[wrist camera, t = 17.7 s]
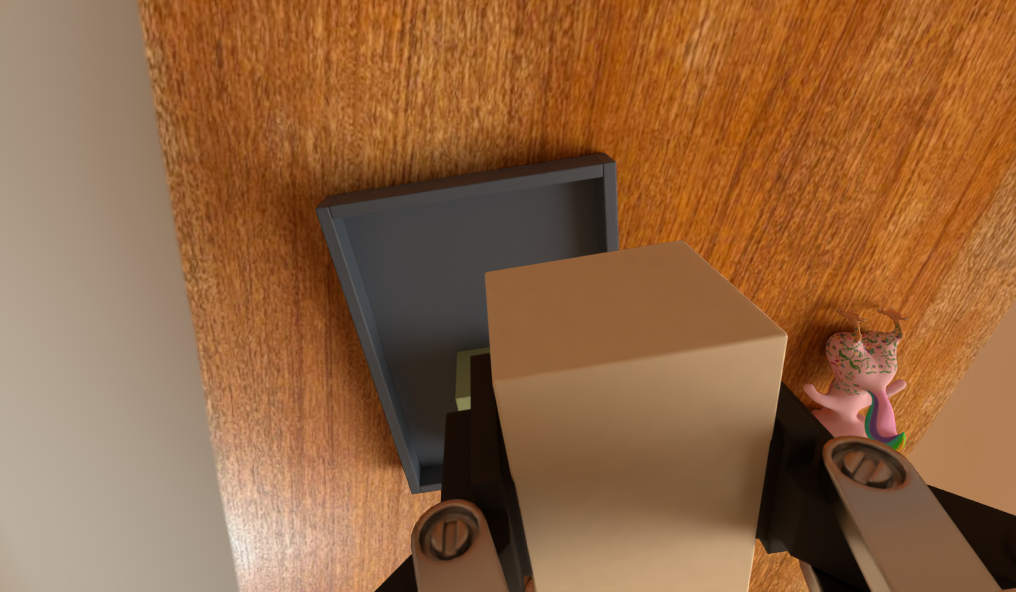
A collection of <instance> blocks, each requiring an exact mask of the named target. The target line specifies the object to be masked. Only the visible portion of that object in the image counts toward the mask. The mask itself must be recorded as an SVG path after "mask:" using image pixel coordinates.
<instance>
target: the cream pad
mask: <svg viewBox="0 0 1016 592" xmlns="http://www.w3.org/2000/svg"><path fill="white" fill-rule="evenodd" d="M485 286H486V299H487V313H488V327H489V341H490V355H491V369H492V382H493V388H494V393H495V398H496V403H497V408H498V413H499V418H500V423H501V428H502V433H503V438H504V442H505V447H506V452H507V457H508V462H509V467H510V472H511V477H512V479H513V481H514V482H515V487H516V492H517V497H518V502H519V507H520V512H521V517H522V522H523V527H524V533H525V538H526V543H527V548H528V553H529V558H530V563H531V568H532V573H533V575H531V576H532V581H533V586H534V591H535V592H748V588H749V581H750V575H751V568H752V562H753V556H754V549H755V543H756V539H755V536H756V529H757V523H758V516H759V510H760V503H761V497H762V491H763V484H764V478H765V471H766V465H767V458H768V452H769V446H770V440H771V439H772V435H773V428H774V422H775V416H776V409H777V403H778V397H779V390H780V384H781V377H782V371H783V365H784V358H785V352H786V346H787V339H788V336H787V333H786V332H785V331H784V330H783V329H781V328H780V327H779V326H778V325H777V324H776V323H775V322H774V321H772V320H771V319H770V318H769V317H768V316H767V315H766V314H765V313H764V312H762V311H761V310H760V309H759V308H758V307H757V306H756V305H755V304H754V303H752V302H751V301H750V300H749V299H748V298H747V297H746V296H745V295H743V294H742V293H741V292H740V291H739V290H738V289H737V288H736V287H735V286H733V285H732V284H731V283H730V282H729V281H728V280H727V279H726V278H725V277H723V276H722V275H721V274H720V273H719V272H718V271H717V270H716V269H714V268H713V267H712V266H711V265H710V264H709V263H708V262H707V261H706V260H704V259H703V258H702V257H701V256H700V255H699V254H698V253H697V252H695V251H694V250H693V249H692V248H691V247H690V246H689V245H688V244H687V243H685V242H684V241H683V240H679V241H673V242H667V243H661V244H655V245H649V246H643V247H637V248H630V249H624V250H618V251H612V252H606V253H600V254H594V255H588V256H582V257H576V258H570V259H563V260H557V261H551V262H545V263H539V264H533V265H527V266H521V267H515V268H509V269H502V270H496V271H490V272H486V273H485Z"/></svg>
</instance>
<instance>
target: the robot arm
mask: <svg viewBox="0 0 1016 592" xmlns="http://www.w3.org/2000/svg"><path fill="white" fill-rule="evenodd" d="M470 407H471V409H467V410H461V411H455V412H449V413H447V414H446V422H445V438H444V455H443V471H442V488H441V502H440V503H438V504H436V505H434V506H432V507H431V508H429V509H428V510H427V511H426V512H425V513H424V514H422V516H421V517H420V518H419V520H418V521H417V523H416V524H415V526H414V529H413V532H412V535H411V550H412V554H411V555H410V556H409V557H408V558H407V559H406V560H405V561H404V562H403V563H402V564H401V565H400V566H399V567H398V568H397V569H396V570H395V571H394V572H393V573H392V574H391V575H390V576H389V577H388V578H387V579H386V580H385V582H384V583H383V584H382V585H381V586H380V587H379V588H378V589H377V590H376V591H375V592H525V583H524V576H530V575H533V573H532V568H531V563H530V558H529V553H528V548H527V543H526V538H525V533H524V527H523V522H522V517H521V512H520V507H519V502H518V497H517V492H516V487H515V482H514V481H513V479H512V477H511V472H510V467H509V462H508V457H507V452H506V447H505V442H504V438H503V433H502V428H501V423H500V418H499V413H498V408H497V403H496V398H495V393H494V388H493V382H492V369H491V355H490V353H485V354H479V355H473V356H470ZM758 538H759V539H760V541H761V543H762V544H763V546H764V548H765V550H766V551H767V553H768V554H771V553H777V552H784V551H788V552H789V554H790V555H791V556H793V557H795V558H797V559H799V563H800V567H801V570H802V572H803V575H804V578H805V580H806V583H807V586H808V588H809V591H810V592H1016V516H1015V515H1012V514H1009V513H1006V512H1004V511H1001V510H998V509H995V508H992V507H989V506H987V505H984V504H981V503H978V502H975V501H973V500H969V499H967V498H964V497H961V496H958V495H955V494H953V493H950V492H947V491H944V490H941V489H938V488H936V487H933V486H930V485H927V484H926V483H925V482H924V481H923V479H922V478H921V476H920V475H919V474H918V472H917V471H916V470H915V468H914V467H913V465H912V464H911V463H910V462H909V461H908V460H907V459H906V458H905V457H904V456H903V455H902V454H901V453H899V452H898V451H896V450H895V449H893V448H892V447H890V446H888V445H886V444H884V443H881V442H879V441H877V440H873V439H870V438H866V437H861V436H852V435H848V436H838V437H836V438H835V437H834V436H833V435H832V434H831V433H830V432H829V431H828V430H827V429H826V428H825V427H824V426H823V424H822V423H821V422H820V421H819V420H818V419H817V418H816V417H815V416H814V415H813V414H812V413H811V412H810V411H809V410H808V408H807V407H806V406H805V405H804V404H803V403H802V402H801V401H800V400H799V399H798V398H797V397H796V396H795V395H794V394H793V392H792V391H791V390H790V389H789V388H788V387H787V386H786V385H785V384H784V383H783V382H782V381H781V384H780V390H779V397H778V403H777V409H776V416H775V422H774V428H773V435H772V439H771V440H770V446H769V452H768V458H767V465H766V471H765V478H764V484H763V491H762V497H761V503H760V510H759V516H758V523H757V529H756V536H755V539H758Z"/></svg>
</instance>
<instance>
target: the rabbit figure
mask: <svg viewBox="0 0 1016 592" xmlns="http://www.w3.org/2000/svg"><path fill="white" fill-rule="evenodd" d="M881 310H882V311H880V310H879V309H878V312H879V313H883V314H884V315H888V316H889V317H890V318H891V319H892V320H893V321H894V323H895V329H894V331H893V332H889V333H884V332H878V331H868V332H865V333H863V334H862V335H861V333H860V326H859V322H860V321H862V322H864V321H865V320H866V319H861V318H860V316H859V315H857V314H855V313H854V310H853V311H852V312H843V311H842V310H841V309H840V308H839V309H838V313H839V314H840V315H843V316H846V317H847V318H848V319H849V320H851V321H852V323H853V324H854V329H855V330H854V333H853V334H852V333H848V332H839V333H836V334H834V335H832V336H831V337H830V338H829V339H828V341H827V343H826V355H827V358H828V361H829V363H830V366H831V368H832V370H833V372H834V374H835V378H834V379H833V381H832V382H831V384H830V386H829V391H828V393H827V394H821V393H818V392H817V391H816V389H815V387H814V386H813V385H812V384H810V383H806V384H804V386H803V390H804V391H805V393H806V394H807V395H808V396H809V397H810V398H811V399H812V400H813V401H815V402H817V403H818V404H820V405H822V406H824V407H823V408H822V409H820V410H813V411H812V412H811V413H812V414H813V415H814V416H815V417H816V418H817V419H818V420H819V421H820V422H821V423H822V424H823V426H824V427H825V428H826V429H827V430H828V431H829V432H830V433H831V434H832V435H833V436H834V437H835V438H836V437H838V436H848V435H852V436H861V437H866V438H870V439H873V440H877V441H879V442H881V443H884V444H886V445H888V446H890V447H892V448H893V449H895V450H896V451H898V452H899V451H900V450H901V449H902V448H903V447H904V445H905V439H906V438H905V434H904V431H903V433H901V434H898V435H897V432H896V426H895V419H894V413H893V409H892V406H891V404H890V402H889V400H888V398H889V397H890V396H892V395H894V394H895V393H897V392H899V391H900V390H902V389H904V388H905V387H906V382H905V381H904V380H901V379H899V380H896V381H894V382H893V383H892V384H891V385H890V386H888V387H887V388H886V386H887V385H888V383H889V382H890V381H891V380H892V378H893V377H894V375H895V373H896V371H897V358H896V349H897V345H898V343H899V342H900V341H901V340H902V339H904V337H905V334H904V332H903V329H902V324H901V320H908V318H909V317H908V318H906V317H905V318H903V317H902V315H901V314H900V313H897V312H896V311H895V310H893V308H892V309H891V310H888V311H884V309H883V307H881ZM840 312H841V313H840ZM869 405H871V407H870V409H869V410H868V412H867V415H866V417H865V416H863V415H860V414H857V413H858V411H859V410H860V409H862V408H864V407H866V406H869Z"/></svg>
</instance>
